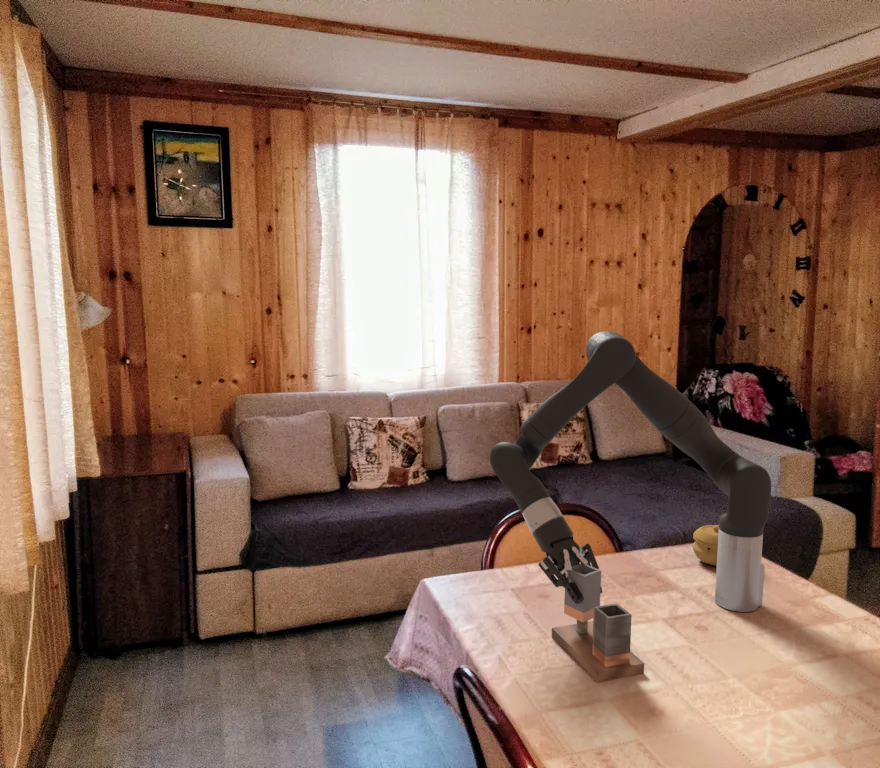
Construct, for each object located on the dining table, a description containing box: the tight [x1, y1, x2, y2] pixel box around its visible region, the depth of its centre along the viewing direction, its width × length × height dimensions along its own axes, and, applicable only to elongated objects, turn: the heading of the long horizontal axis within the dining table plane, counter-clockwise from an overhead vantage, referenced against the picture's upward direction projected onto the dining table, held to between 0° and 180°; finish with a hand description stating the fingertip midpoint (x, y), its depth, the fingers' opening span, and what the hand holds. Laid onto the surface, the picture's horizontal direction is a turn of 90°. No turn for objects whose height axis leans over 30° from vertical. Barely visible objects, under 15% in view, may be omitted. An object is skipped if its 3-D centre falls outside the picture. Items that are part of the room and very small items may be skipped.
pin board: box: [551, 603, 645, 683], centre depth 143 cm, size 10×18×12 cm, turn 18°
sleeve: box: [563, 562, 602, 622], centre depth 147 cm, size 5×5×10 cm
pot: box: [692, 524, 719, 567], centre depth 189 cm, size 12×12×10 cm
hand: (589, 598), depth 146 cm, fingers closed on sleeve, 5 cm apart
